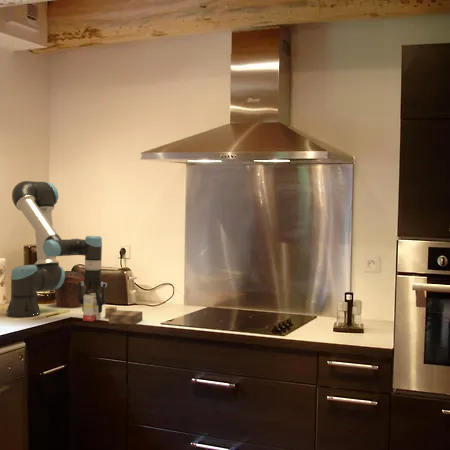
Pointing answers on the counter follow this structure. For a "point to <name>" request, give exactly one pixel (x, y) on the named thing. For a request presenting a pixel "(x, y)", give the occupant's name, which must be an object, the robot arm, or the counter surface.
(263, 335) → the counter surface
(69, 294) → the brown plant pot
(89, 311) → the ink box
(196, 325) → the counter surface
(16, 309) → the robot arm
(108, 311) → the oak cube
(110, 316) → the pedestal
